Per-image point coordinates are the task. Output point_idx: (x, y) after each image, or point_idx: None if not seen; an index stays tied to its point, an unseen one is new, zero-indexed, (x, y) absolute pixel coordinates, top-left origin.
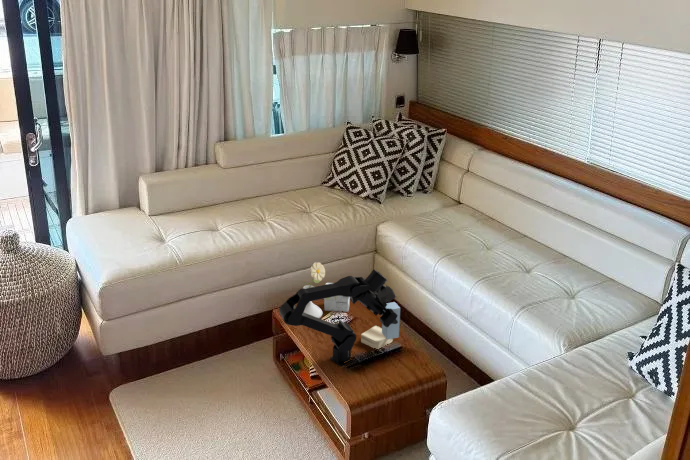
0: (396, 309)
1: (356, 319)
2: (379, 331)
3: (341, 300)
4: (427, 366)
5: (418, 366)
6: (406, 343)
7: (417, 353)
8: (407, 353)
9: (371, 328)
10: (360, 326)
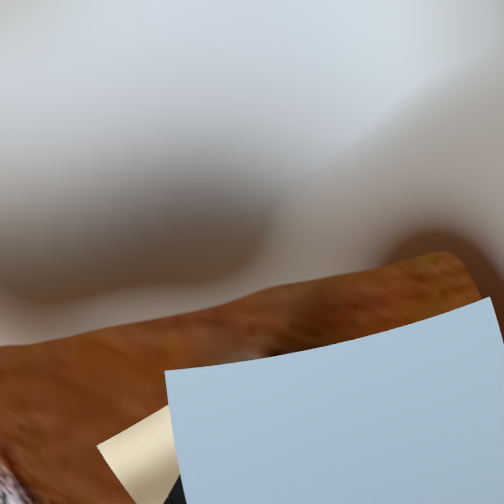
0: (500, 389)
1: (12, 457)
2: (162, 453)
3: None
4: (432, 277)
5: (433, 312)
6: (246, 321)
7: (342, 292)
8: (337, 339)
9: (122, 480)
10: (57, 473)
